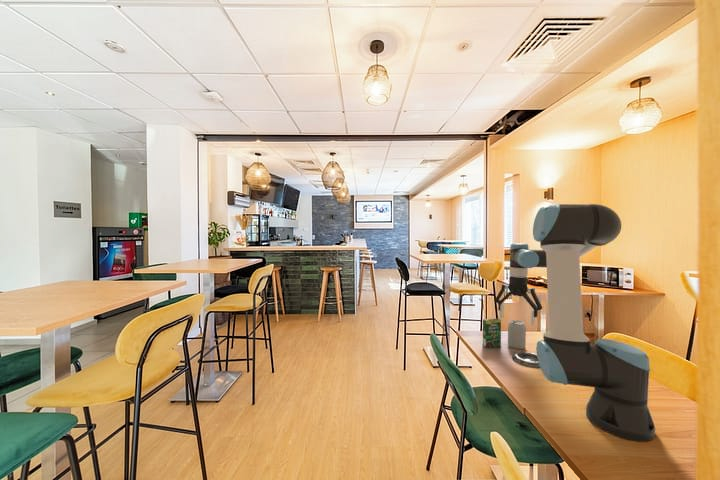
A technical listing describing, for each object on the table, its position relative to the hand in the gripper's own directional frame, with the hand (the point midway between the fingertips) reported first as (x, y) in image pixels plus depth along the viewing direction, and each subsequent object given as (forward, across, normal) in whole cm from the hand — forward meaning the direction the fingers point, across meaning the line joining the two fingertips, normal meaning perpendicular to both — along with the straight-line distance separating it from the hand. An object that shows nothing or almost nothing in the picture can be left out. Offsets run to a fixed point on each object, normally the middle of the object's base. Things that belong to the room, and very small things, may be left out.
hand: (516, 320), depth 142 cm
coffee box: (+13, +8, +8) cm, 17 cm away
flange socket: (+12, -9, +13) cm, 20 cm away
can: (+13, 0, 0) cm, 13 cm away
